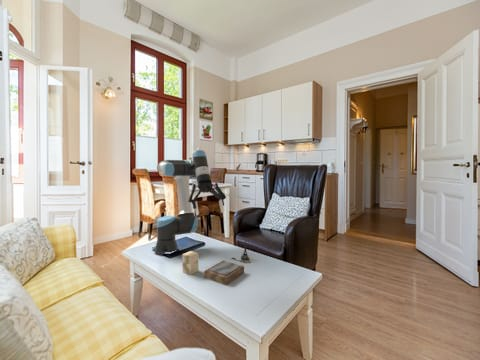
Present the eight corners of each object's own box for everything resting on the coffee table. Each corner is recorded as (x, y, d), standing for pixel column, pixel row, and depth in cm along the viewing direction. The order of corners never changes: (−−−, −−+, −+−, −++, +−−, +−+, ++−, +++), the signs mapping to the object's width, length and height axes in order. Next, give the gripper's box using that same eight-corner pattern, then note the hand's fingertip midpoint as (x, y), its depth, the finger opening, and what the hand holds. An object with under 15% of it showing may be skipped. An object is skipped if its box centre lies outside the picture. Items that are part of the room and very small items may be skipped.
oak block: (182, 272, 127) (182, 254, 127) (190, 268, 133) (190, 250, 132) (190, 275, 124) (190, 256, 124) (198, 270, 129) (198, 253, 129)
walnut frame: (204, 277, 122) (204, 269, 121) (223, 266, 135) (223, 259, 135) (226, 285, 114) (226, 277, 114) (243, 272, 128) (243, 265, 127)
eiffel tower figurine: (230, 259, 147) (230, 238, 146) (240, 254, 155) (240, 234, 154) (249, 266, 138) (249, 243, 137) (259, 260, 146) (259, 239, 145)
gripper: (181, 173, 120) (188, 213, 112) (226, 172, 131) (235, 208, 123) (179, 180, 126) (184, 218, 118) (221, 178, 137) (229, 213, 129)
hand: (210, 213), depth 121 cm, fingers open, 13 cm apart
